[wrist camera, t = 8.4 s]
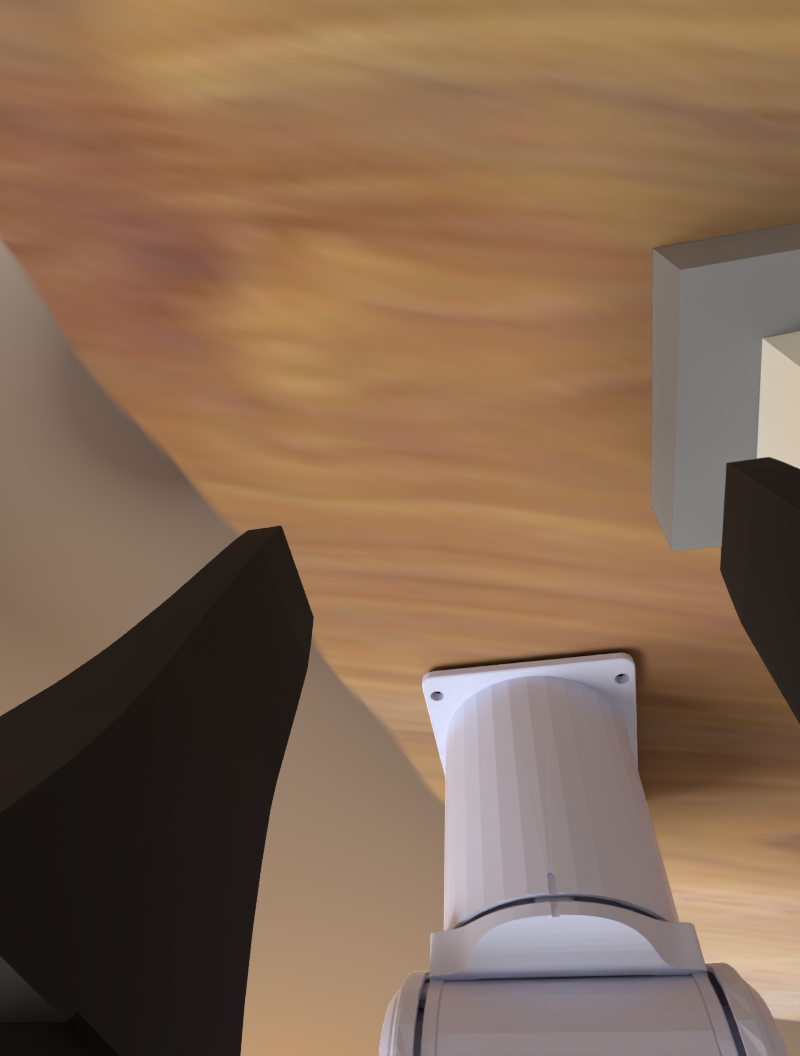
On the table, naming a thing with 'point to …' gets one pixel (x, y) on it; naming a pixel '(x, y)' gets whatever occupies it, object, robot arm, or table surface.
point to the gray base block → (713, 367)
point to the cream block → (780, 399)
